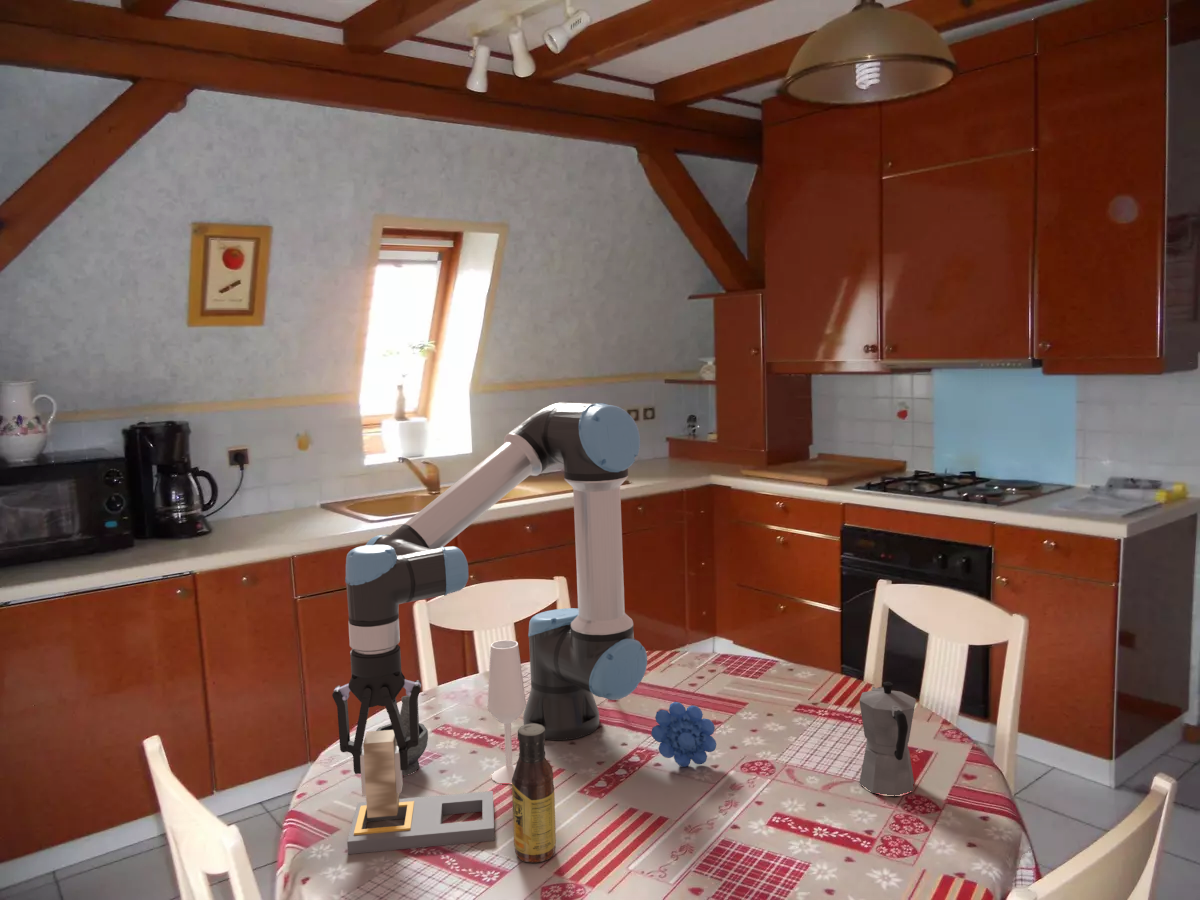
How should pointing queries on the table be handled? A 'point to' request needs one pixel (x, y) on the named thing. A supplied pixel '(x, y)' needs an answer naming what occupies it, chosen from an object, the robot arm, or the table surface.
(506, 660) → the champagne flute
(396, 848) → the peg board
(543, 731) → the sauce bottle
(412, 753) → the mortar and pestle
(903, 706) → the coffeepot
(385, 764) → the wooden peg
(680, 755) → the blue flower
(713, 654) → the table surface
